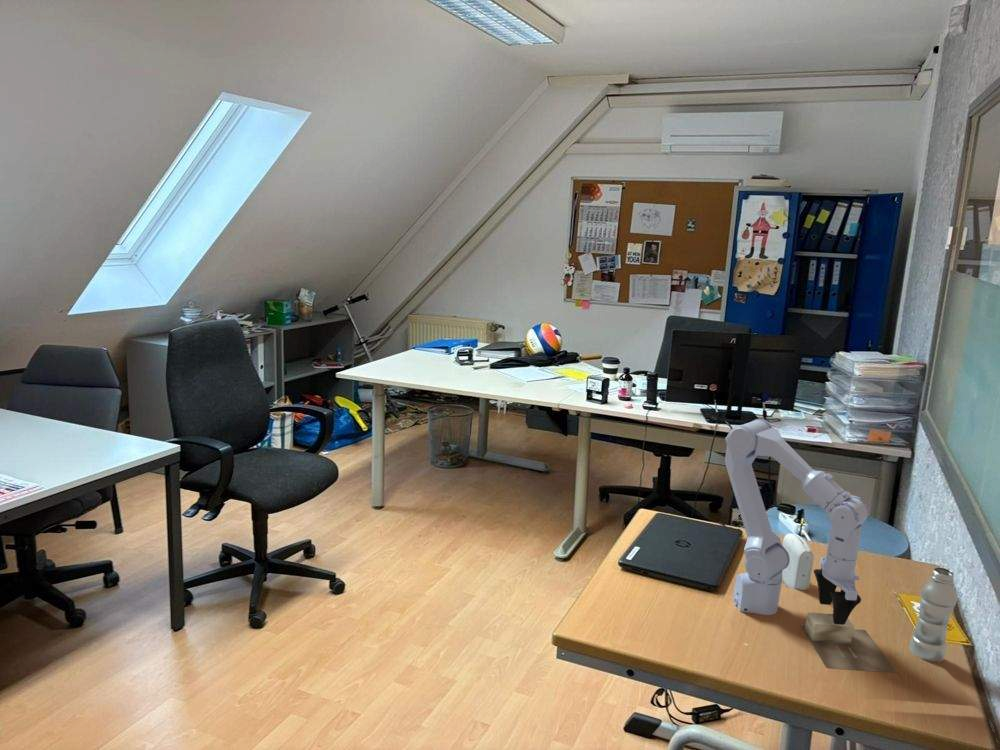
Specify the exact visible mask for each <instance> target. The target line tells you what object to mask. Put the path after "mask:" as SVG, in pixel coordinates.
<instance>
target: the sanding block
mask: <svg viewBox="0 0 1000 750" xmlns="http://www.w3.org/2000/svg"><path fill="white" fill-rule="evenodd" d="M804 626H805V630H806V632H807V633H808V635H809V636H810V638H811V640H812V641H821V642H835V643H848V644H851V640H852V634H853V629H855V628H854V627H855V626H854V625H853V624H852V622H851V621H850V619H849V618H848V619H847V621H846V623H845V624H844V625H841V624H834V622H833V613H825V612H824V613H823V612H808V611H807V613H806V619H805V625H804Z"/></svg>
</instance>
